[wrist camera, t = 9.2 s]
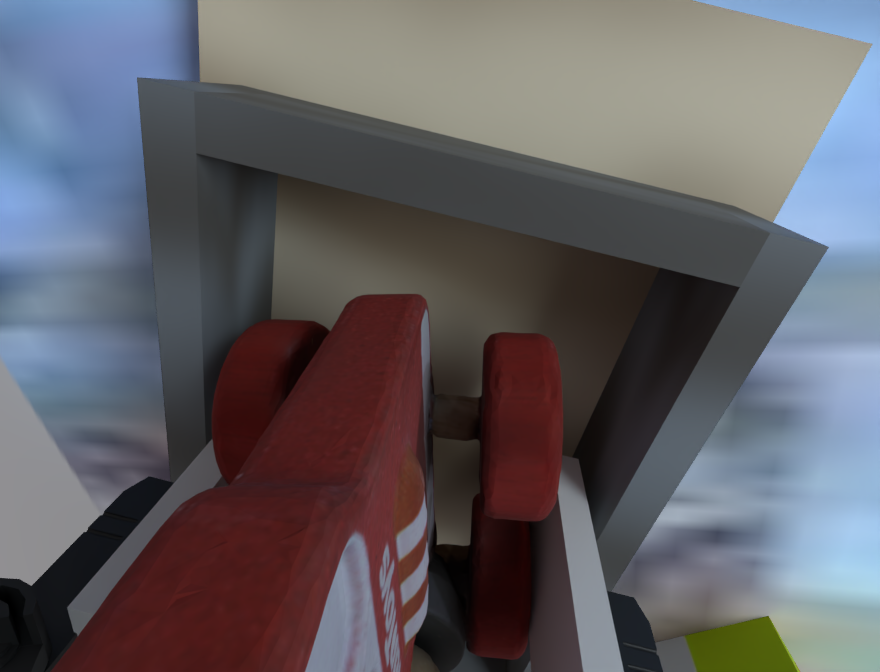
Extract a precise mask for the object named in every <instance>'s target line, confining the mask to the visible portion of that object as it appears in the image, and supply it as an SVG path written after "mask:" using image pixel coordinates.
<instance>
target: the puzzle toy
mask: <svg viewBox="0 0 880 672" xmlns="http://www.w3.org/2000/svg"><path fill="white" fill-rule="evenodd" d="M655 644H656V648H657V655H659V659H660V662H661V666H662V669H663V672H800V670H799V669H798V667H797V665H796V663H795V662H794V660H793V658H792V656H791V655H790V653H789V651H788V649H787V648H786V646H785V644H784V642H783V641H782V639H781V637H780V635H779V634H778V632H777V630H776V628H775V627H774V625H773V623H772V621H771V620H770V618H769V616H767V617H762V618H758V619H754V620H750V621H745V622H741V623H737V624H732V625H728V626H724V627H719V628H715V629H711V630H707V631H702V632H698V633H694V634H689V635H685V636H681V637H677V638H672V639H668V640H664V641H659V642H655Z"/></svg>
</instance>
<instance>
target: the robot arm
mask: <svg viewBox="0 0 880 672" xmlns="http://www.w3.org/2000/svg"><path fill="white" fill-rule="evenodd" d="M224 486H228V484H227V483H226V481H225V479H224V478H223V476H222V475H221V473H220V470H219V468H218V465H217V462H216V459H215V454H214V448H213V439H212V440H211V441H210V442H209V443H208V444H207V445H206V447H205V448H204V449H203V450H202V451H201V452H200V454H199V455H198V456H197V457H196V458H195V459H194V461H193V462H192V463H191V464H190V465H189V466H188V468H187V469H186V470H185V471H184V472H183V473H182V475H181V476H180V477H179V478H178V479H177V480H176V482H175V483H173V482H169V481H165V480H161V479H157V478H153V477H147V478H146V479H144V480H142V481H140V482H139V483H137V484H135V485H134V486H132V487H130V488H128V489H127V490H125V491H123V493H122V494H121V495H120V496H119V497H118V498H117V499H116V500H115V501H114V502H113V503H112V504H111V505H110V506H109V507H108V508H107V509H106V510H105V511H104V514H103V515H100V516H99V517H98V518H97V519H96V520H95V521H94V522H93V523H92V524H91V525H90V527H88V530H87V532H84V533H83V534H82V535H81V536H80V537H79V538H78V539H77V540H76V541H75V542H74V543H73V544H72V545H71V546H70V547H69V548H68V549H67V550H66V551H65V552H64V553H63V554H62V555H61V556H60V557H59V558H58V559H57V560H56V562H55V563H54V564H53V565H52V566H51V567H50V568H49V569H48V570H47V571H46V572H45V573H44V574H43V575H42V576H41V577H40V578H39V579H38V580H37V581H36V582H35V583H34V584H33V585H32V586H30V585H28V584H27V583H25V582H23V581H21V580H20V579H6V578H0V672H51V670H52V669H53V668H54V667H55V665H56V664H57V663H58V661H59V660H60V659H61V658H62V656H63V655H64V654H65V653H66V651H67V650H68V649H69V648H70V646H71V645H72V643H73V642H74V641H75V639H76V638H77V637H78V635H79V634H80V632H81V631H82V630H83V628H84V627H85V626H86V624H87V623H88V622H89V621H90V619H91V618H92V617H93V615H94V614H95V613H96V611H97V610H98V608H99V607H100V606H101V604H102V603H103V601H104V600H105V599H106V597H107V596H108V594H109V593H110V592H111V590H112V589H113V588H114V586H115V585H116V584H117V582H118V581H119V580H120V579H121V577H122V576H123V575H124V573H125V572H126V571H127V569H128V568H129V567H130V566H131V564H132V563H133V562H134V560H135V559H136V558H137V557H138V555H139V554H140V553H141V551H142V550H143V549H144V548H145V546H146V545H147V544H148V542H149V541H150V540H151V539H152V537H153V536H154V535H155V533H156V532H157V531H158V529H159V528H160V527H161V526H162V525H163V524H164V522H165V521H166V520H167V519H168V518H169V517H170V516H171V515H172V513H173V512H174V511H175V510H176V509H177V508H178V507H179V506H180V505H181V504H182V503H183V502H185V501H187V500H188V499H190V498H191V497H193V496H195V495H196V494H198V493H201V492H203V491H205V490H207V489H210V488H217V487H224ZM529 526H530V545H531V614H530V624H529V642H530V662H531V672H663V669H662V666H661V662H660V659H659V655H657V648H656V644H655V641H654V637H653V634H652V630H651V627H650V623H649V621H648V620H647V618H646V617H645V615H644V613H643V612H642V610H641V608H640V607H639V605H638V603H637V602H636V600H635V599H634V598H633V597H629V596H625V595H621V594H617V593H613V592H609V591H607V590H606V585H605V581H604V576H603V571H602V567H601V562H600V557H599V553H598V548H597V543H596V539H595V534H594V529H593V525H592V520H591V515H590V511H589V506H588V501H587V497H586V492H585V487H584V482H583V478H582V473H581V468H580V464H579V459H576V458H572V457H568V456H564V455H562V466H561V473H560V480H559V488H558V494H557V499H556V504H555V505H554V508H553V509H552V511H551V512H550V513H549V515H548V516H547V517H546V518H545V519H543V520H541V521H536V522H535V521H529Z"/></svg>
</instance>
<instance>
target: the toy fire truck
mask: <svg viewBox="0 0 880 672" xmlns="http://www.w3.org/2000/svg"><path fill="white" fill-rule="evenodd" d="M433 435H435V436H436V437H438V438H445V439H453V440H461V441H470V440H474V439H477V440H478V441H479V443H480V460H479V483H480V493H478V494H476V495H475V497H474V498H473V502H472V516H471V536H470V545H467V546H461V545H453V544H439V545H437V527H436V522H435V509H434V466H433ZM212 439H213V448H214V454H215V459H216V462H217V465H218V468H219V470H220V473H221V475H222V476H223V478H224V479H225V481H226V483H227V484H228V486H224V487H217V488H210V489H207V490H205V491H203V492H201V493H198V494H196V495H195V496H193V497H191V498H190V499H188V500H187V501H185V502H183V503H182V504H181V505H180V506H179V507H178V508H177V509H176V510H175V511H174V512H173V513H172V515H171V516H170V517H169V518H168V519H167V520H166V521H165V522H164V524H163V525H162V526H161V527H160V528H159V529H158V531H157V532H156V533H155V535H154V536H153V537H152V539H151V540H150V541H149V542H148V544H147V545H146V546H145V548H144V549H143V550H142V551H141V553H140V554H139V555H138V557H137V558H136V559H135V560H134V562H133V563H132V564H131V566H130V567H129V568H128V569H127V571H126V572H125V573H124V575H123V576H122V577H121V579H120V580H119V581H118V582H117V584H116V585H115V586H114V588H113V589H112V590H111V592H110V593H109V594H108V596H107V597H106V599H105V600H104V601H103V603H102V604H101V606H100V607H99V608H98V610H97V611H96V613H95V614H94V615H93V617H92V618H91V619H90V621H89V622H88V623H87V624H86V626H85V627H84V628H83V630H82V631H81V632H80V634H79V635H78V637H77V638H76V639H75V641H74V642H73V643H72V645H71V646H70V648H69V649H68V650H67V651H66V653H65V654H64V655H63V656H62V658H61V659H60V660H59V661H58V663H57V664H56V665H55V667H54V668H53V669H52V670H51V672H450V671H452V670H453V669H454V668H455V667H456V666H457V665H458V664H459V663H460V661H461V660H462V657H463V655H464V649H465V641H466V647H467V649H468V651H469V652H471V653H473V654H474V655H476V656H480V657H489V658H500V659H509V660H514V659H518V658H519V657H521V656H522V655H523V653H524V652H525V650H526V647H527V644H528V633H529V624H530V614H531V545H530V526H529V521H535V522H536V521H541V520H543V519H545V518H546V517H547V516H548V515H549V513H550V512H551V511H552V509H553V508H554V505H555V504H556V499H557V494H558V488H559V480H560V473H561V466H562V445H563V398H562V380H561V370H560V365H559V359H558V353H557V350H556V347H555V345H554V342H553V341H552V340H551V339H550V338H549V337H546V336H544V335H542V334H539V333H512V332H499V333H494V334H491V335H490V336H489V337H488V339H487V340H486V341H485V343H484V347H483V368H482V395H481V396H480V397H467V396H459V395H447V394H438V395H434V383H433V375H432V365H431V345H430V321H429V311H428V305H427V301H426V299H425V298H424V297H423V296H422V295H419V294H368V295H361V296H358V297H356V298H354V299H352V300H351V301H349V302H348V303H347V304H346V305H345V307H344V309H343V311H342V312H341V314H340V316H339V318H338V320H337V321H336V323H335V324H334V326H333V328H332V329H331V331H329V330H328V329H327V328H326V327H325V326H323V325H321V324H319V323H317V322H315V321H307V320H283V319H270V320H264V321H261V322H258V323H256V324H254V325H253V326H250V327H249V328H248V329H247V330H245V331H244V332H243V333H242V335H241V336H239V337H238V339H237V340H236V341H235V343H234V344H233V346H232V347H231V349H230V351H229V353H228V355H227V358H226V360H225V362H224V364H223V366H222V369H221V372H220V375H219V378H218V382H217V386H216V389H215V393H214V400H213V408H212Z"/></svg>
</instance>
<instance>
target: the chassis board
mask: <svg viewBox="0 0 880 672" xmlns="http://www.w3.org/2000/svg"><path fill="white" fill-rule="evenodd" d="M198 27H199V63H200V82H193V81H179V80H165V79H151V78H137V83H138V95H139V107H140V119H141V131H142V143H143V155H144V167H145V178H146V190H147V202H148V214H149V226H150V238H151V250H152V262H153V274H154V286H155V298H156V310H157V322H158V334H159V346H160V358H161V370H162V382H163V394H164V406H165V418H166V429H167V441H168V453H169V465H170V477H171V482H173V483H175V482H176V480H177V479H178V478H179V477H180V476H181V475H182V473H183V472H184V471H185V470H186V469H187V468H188V466H189V465H190V464H191V463H192V462H193V461H194V459H195V458H196V457H197V456H198V455H199V454H200V452H201V451H202V450H203V449H204V448H205V447H206V445H207V444H208V443H209V442H210V441H211V440H212V408H213V400H214V393H215V389H216V386H217V382H218V378H219V375H220V372H221V369H222V366H223V364H224V362H225V360H226V358H227V355H228V353H229V351H230V349H231V347H232V346H233V344H234V343H235V341H236V340H237V339H238V337H239V336H241V335H242V333H243V332H244V331H245V330H247V329H248V328H249V327H250V326H253V325H254V324H256V323H258V322H261V321H264V320H270V319H283V320H307V321H315V322H317V323H319V324H321V325H323V326H325V327H326V328H327V329H328V330H329V331H331V329H332V328H333V326H334V324H335V323H336V321H337V320H338V318H339V316H340V314H341V312H342V311H343V309H344V307H345V305H346V304H347V303H348V302H349V301H351V300H352V299H354V298H356V297H358V296H361V295H368V294H419V295H422V296H423V297H424V298H425V299H426V301H427V305H428V311H429V321H430V345H431V365H432V375H433V383H434V395H438V394H447V395H459V396H467V397H480V396H481V395H482V368H483V347H484V343H485V341H486V340H487V339H488V337H489V336H490V335H491V334H494V333H499V332H512V333H539V334H542V335H544V336H546V337H549V338H550V339H551V340H552V341H553V342H554V345H555V347H556V350H557V353H558V359H559V365H560V370H561V380H562V398H563V445H562V455H564V456H568V457H572V458H576V459H579V464H580V468H581V473H582V478H583V482H584V487H585V492H586V497H587V501H588V506H589V511H590V515H591V520H592V525H593V529H594V534H595V539H596V543H597V548H598V553H599V557H600V562H601V567H602V571H603V576H604V581H605V585H606V590H607V591H609V592H611V591H612V589H613V588H614V586H615V585H616V583H617V581H618V580H619V578H620V577H621V575H622V573H623V572H624V570H625V569H626V567H627V566H628V564H629V562H630V561H631V559H632V558H633V556H634V554H635V553H636V551H637V550H638V548H639V547H640V545H641V543H642V542H643V540H644V539H645V537H646V535H647V534H648V532H649V531H650V529H651V528H652V526H653V524H654V523H655V521H656V520H657V518H658V516H659V515H660V513H661V512H662V510H663V509H664V507H665V505H666V504H667V502H668V501H669V499H670V498H671V496H672V494H673V493H674V491H675V490H676V488H677V486H678V485H679V483H680V482H681V480H682V479H683V477H684V475H685V474H686V472H687V471H688V469H689V467H690V466H691V464H692V463H693V461H694V460H695V458H696V456H697V455H698V453H699V452H700V450H701V448H702V447H703V445H704V444H705V442H706V441H707V439H708V437H709V436H710V434H711V433H712V431H713V429H714V428H715V426H716V425H717V423H718V422H719V420H720V418H721V417H722V415H723V414H724V412H725V411H726V409H727V407H728V406H729V404H730V403H731V401H732V399H733V398H734V396H735V395H736V393H737V392H738V390H739V388H740V387H741V385H742V384H743V382H744V380H745V379H746V377H747V376H748V374H749V373H750V371H751V369H752V368H753V366H754V365H755V363H756V361H757V360H758V358H759V357H760V355H761V354H762V352H763V350H764V349H765V347H766V346H767V344H768V342H769V341H770V339H771V338H772V336H773V335H774V333H775V331H776V330H777V328H778V327H779V325H780V324H781V322H782V320H783V319H784V317H785V316H786V314H787V312H788V311H789V309H790V308H791V306H792V305H793V303H794V301H795V300H796V298H797V297H798V295H799V293H800V292H801V290H802V289H803V287H804V286H805V284H806V282H807V281H808V279H809V278H810V276H811V274H812V273H813V271H814V270H815V268H816V267H817V265H818V263H819V262H820V260H821V259H822V257H823V255H824V254H825V252H826V251H827V249H828V248H829V247H827V246H825V245H822V244H820V243H818V242H816V241H813V240H811V239H809V238H807V237H804V236H802V235H800V234H797V233H795V232H793V231H791V230H788V229H786V228H784V227H781V226H779V225H777V224H775V223H773V221H774V220H775V218H776V216H777V214H778V212H779V211H780V209H781V207H782V205H783V203H784V202H785V200H786V198H787V196H788V194H789V193H790V191H791V189H792V187H793V186H794V184H795V182H796V180H797V178H798V177H799V175H800V173H801V171H802V169H803V168H804V166H805V164H806V162H807V160H808V159H809V157H810V155H811V153H812V151H813V150H814V148H815V146H816V144H817V143H818V141H819V139H820V137H821V135H822V134H823V132H824V130H825V128H826V126H827V125H828V123H829V121H830V119H831V117H832V116H833V114H834V112H835V110H836V109H837V107H838V105H839V103H840V101H841V100H842V98H843V96H844V94H845V92H846V91H847V89H848V87H849V85H850V83H851V82H852V80H853V78H854V76H855V75H856V73H857V71H858V69H859V67H860V66H861V64H862V62H863V60H864V58H865V57H866V55H867V53H868V51H869V49H870V48H871V46H872V44H870V43H866V42H862V41H858V40H854V39H849V38H845V37H841V36H837V35H833V34H829V33H825V32H820V31H816V30H812V29H808V28H804V27H800V26H796V25H792V24H787V23H783V22H779V21H775V20H771V19H767V18H763V17H758V16H754V15H750V14H746V13H742V12H738V11H734V10H730V9H725V8H721V7H717V6H713V5H709V4H705V3H701V2H696V1H692V0H198ZM479 460H480V443H479V441H478V440H477V439H474V440H470V441H461V440H453V439H445V438H438V437H436V436H435V435H433V466H434V509H435V522H436V527H437V545H439V544H453V545H461V546H467V545H470V536H471V516H472V502H473V498H474V497H475V495H476V494H478V493H480V483H479ZM450 672H531V662H530V642H529V633H528V644H527V647H526V650H525V652H524V653H523V655H522V656H521V657H519V658H518V659H514V660H509V659H500V658H489V657H480V656H476V655H474V654H473V653H471V652H469V651H468V649H467V647H466V641H465V649H464V655H463V657H462V660H461V661H460V663H459V664H458V665H457V666H456V667H455V668H454V669H453V670H452V671H450Z"/></svg>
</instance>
